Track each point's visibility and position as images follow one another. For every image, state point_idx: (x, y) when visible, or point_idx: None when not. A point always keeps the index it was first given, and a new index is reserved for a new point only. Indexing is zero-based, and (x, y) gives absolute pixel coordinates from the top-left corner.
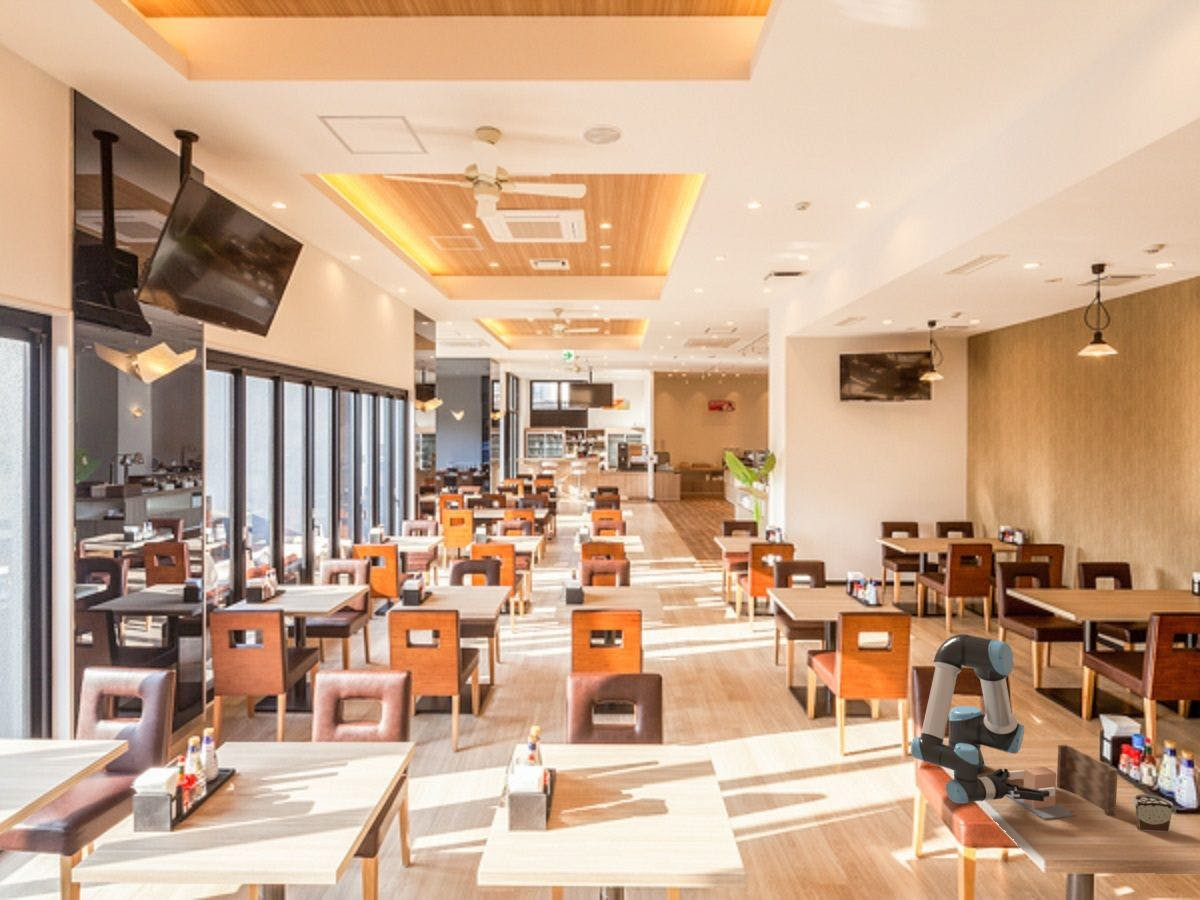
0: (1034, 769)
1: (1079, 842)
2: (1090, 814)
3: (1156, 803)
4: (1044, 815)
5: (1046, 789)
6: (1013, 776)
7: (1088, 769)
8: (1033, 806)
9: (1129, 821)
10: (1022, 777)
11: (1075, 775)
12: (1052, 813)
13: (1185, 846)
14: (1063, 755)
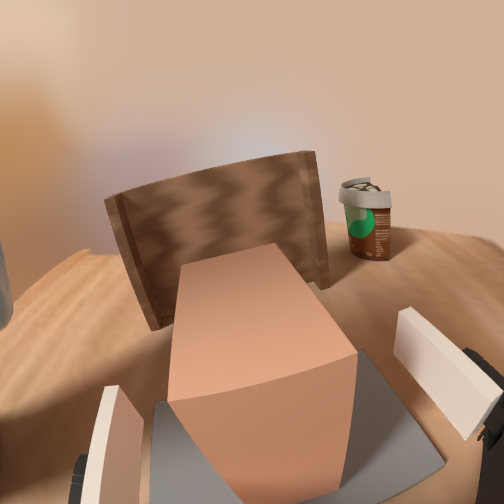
0: (202, 321)
1: None
2: (333, 315)
3: (375, 186)
4: (415, 458)
5: (459, 353)
6: (124, 499)
7: (218, 210)
8: (336, 488)
9: (349, 264)
10: (139, 432)
11: (181, 261)
12: (380, 421)
13: (421, 232)
14: (126, 226)
